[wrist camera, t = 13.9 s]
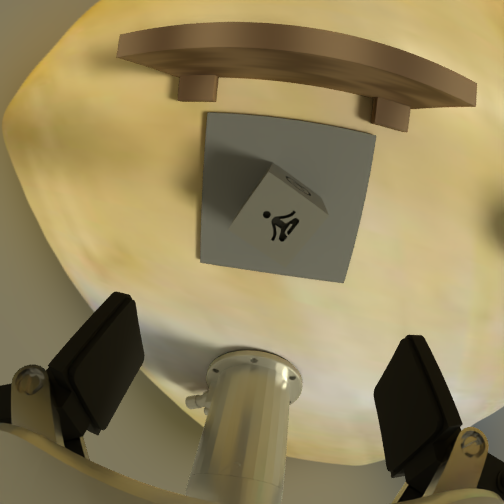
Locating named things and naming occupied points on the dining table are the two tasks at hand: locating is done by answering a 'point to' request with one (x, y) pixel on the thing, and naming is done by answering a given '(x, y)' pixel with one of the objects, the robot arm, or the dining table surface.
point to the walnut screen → (298, 65)
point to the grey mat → (300, 167)
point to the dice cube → (279, 216)
